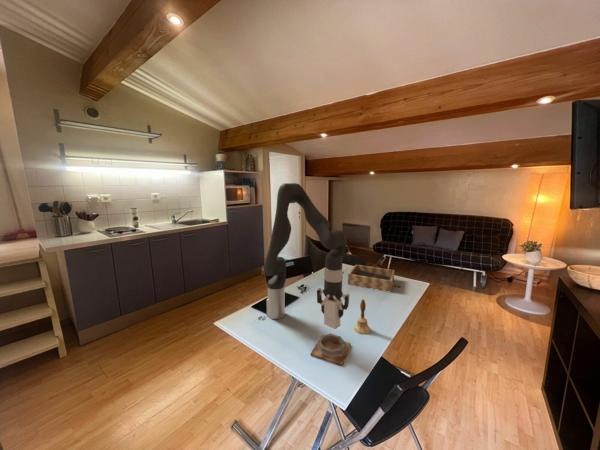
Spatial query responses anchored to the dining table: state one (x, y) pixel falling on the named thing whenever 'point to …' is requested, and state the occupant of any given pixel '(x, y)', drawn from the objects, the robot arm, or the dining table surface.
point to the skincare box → (331, 314)
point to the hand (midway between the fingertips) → (332, 314)
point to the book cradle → (370, 281)
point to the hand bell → (362, 321)
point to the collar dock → (331, 349)
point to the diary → (372, 275)
